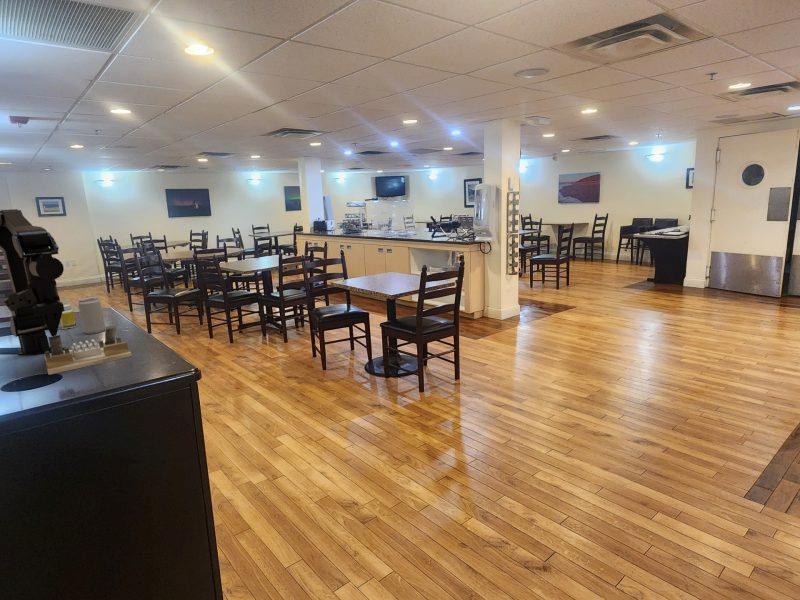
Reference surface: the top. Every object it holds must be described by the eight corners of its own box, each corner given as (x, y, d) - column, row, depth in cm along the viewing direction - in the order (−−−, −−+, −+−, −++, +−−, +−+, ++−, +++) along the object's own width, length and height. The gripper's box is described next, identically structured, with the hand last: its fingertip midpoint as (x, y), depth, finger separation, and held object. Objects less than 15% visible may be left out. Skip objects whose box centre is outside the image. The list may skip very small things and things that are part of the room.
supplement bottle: (79, 326, 177) (75, 304, 175) (67, 329, 173) (62, 307, 171) (70, 326, 179) (65, 304, 177) (58, 329, 174) (53, 307, 173)
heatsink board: (45, 358, 137) (41, 345, 136) (119, 342, 148) (117, 330, 148) (48, 374, 122) (45, 359, 121) (131, 356, 133) (129, 342, 132)
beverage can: (95, 334, 162) (88, 300, 160) (79, 334, 163) (72, 300, 161) (110, 329, 168) (103, 296, 166) (94, 329, 170) (88, 296, 167)
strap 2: (105, 345, 142) (104, 342, 142) (115, 343, 144) (114, 340, 144) (105, 329, 133) (104, 325, 134) (116, 327, 135) (115, 323, 135)
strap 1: (51, 356, 134) (51, 353, 134) (63, 354, 136) (63, 350, 136) (48, 340, 125) (47, 336, 126) (61, 337, 127) (60, 333, 127)
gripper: (2, 279, 126) (15, 336, 130) (0, 286, 112) (15, 349, 115) (53, 273, 133) (65, 327, 136) (57, 279, 119) (70, 339, 122)
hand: (54, 335), depth 127 cm, fingers closed
